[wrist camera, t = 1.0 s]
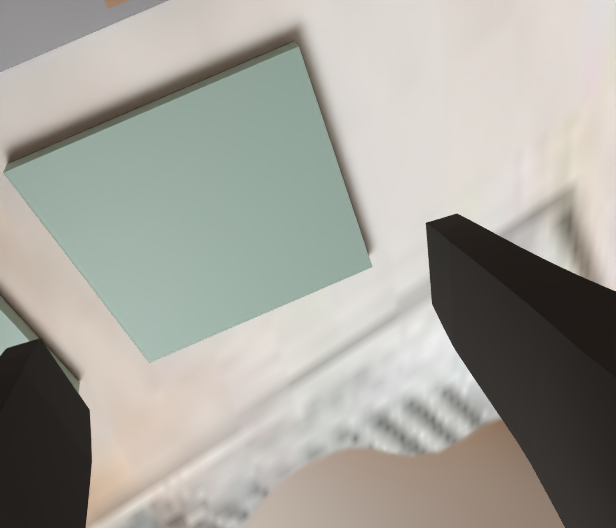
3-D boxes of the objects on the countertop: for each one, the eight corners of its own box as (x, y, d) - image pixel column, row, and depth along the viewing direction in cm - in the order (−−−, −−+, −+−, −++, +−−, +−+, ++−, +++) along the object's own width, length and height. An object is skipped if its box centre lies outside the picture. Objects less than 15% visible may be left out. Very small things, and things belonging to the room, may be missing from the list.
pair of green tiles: (-141, 477, 23) (-147, 490, 22) (-374, 327, 17) (-388, 340, 17) (367, 258, 23) (372, 266, 23) (294, 41, 18) (298, 46, 17)
